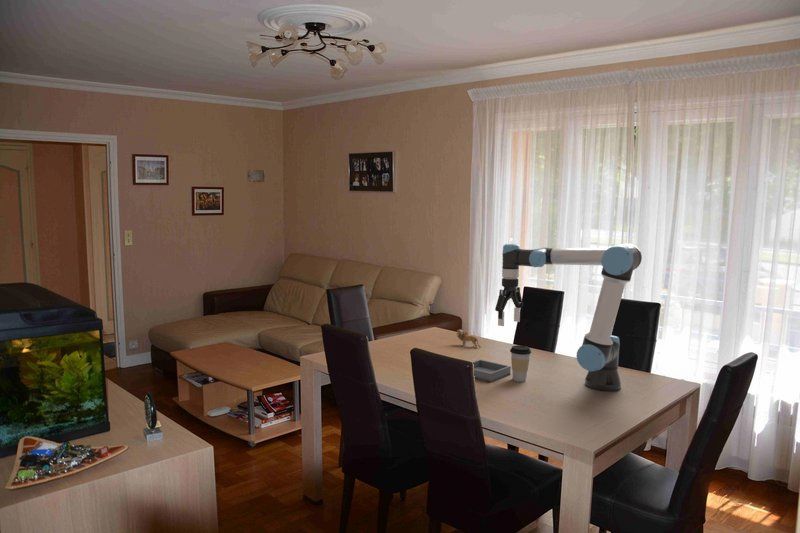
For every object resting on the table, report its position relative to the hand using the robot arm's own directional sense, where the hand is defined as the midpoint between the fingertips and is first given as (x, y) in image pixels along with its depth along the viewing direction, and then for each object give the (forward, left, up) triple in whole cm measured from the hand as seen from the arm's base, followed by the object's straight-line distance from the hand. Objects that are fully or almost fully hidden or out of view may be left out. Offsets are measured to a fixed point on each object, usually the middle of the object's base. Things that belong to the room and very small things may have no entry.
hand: (508, 323), depth 278 cm
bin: (+7, +7, -24) cm, 26 cm away
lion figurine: (+43, -31, -25) cm, 59 cm away
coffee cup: (-8, +3, -24) cm, 26 cm away
